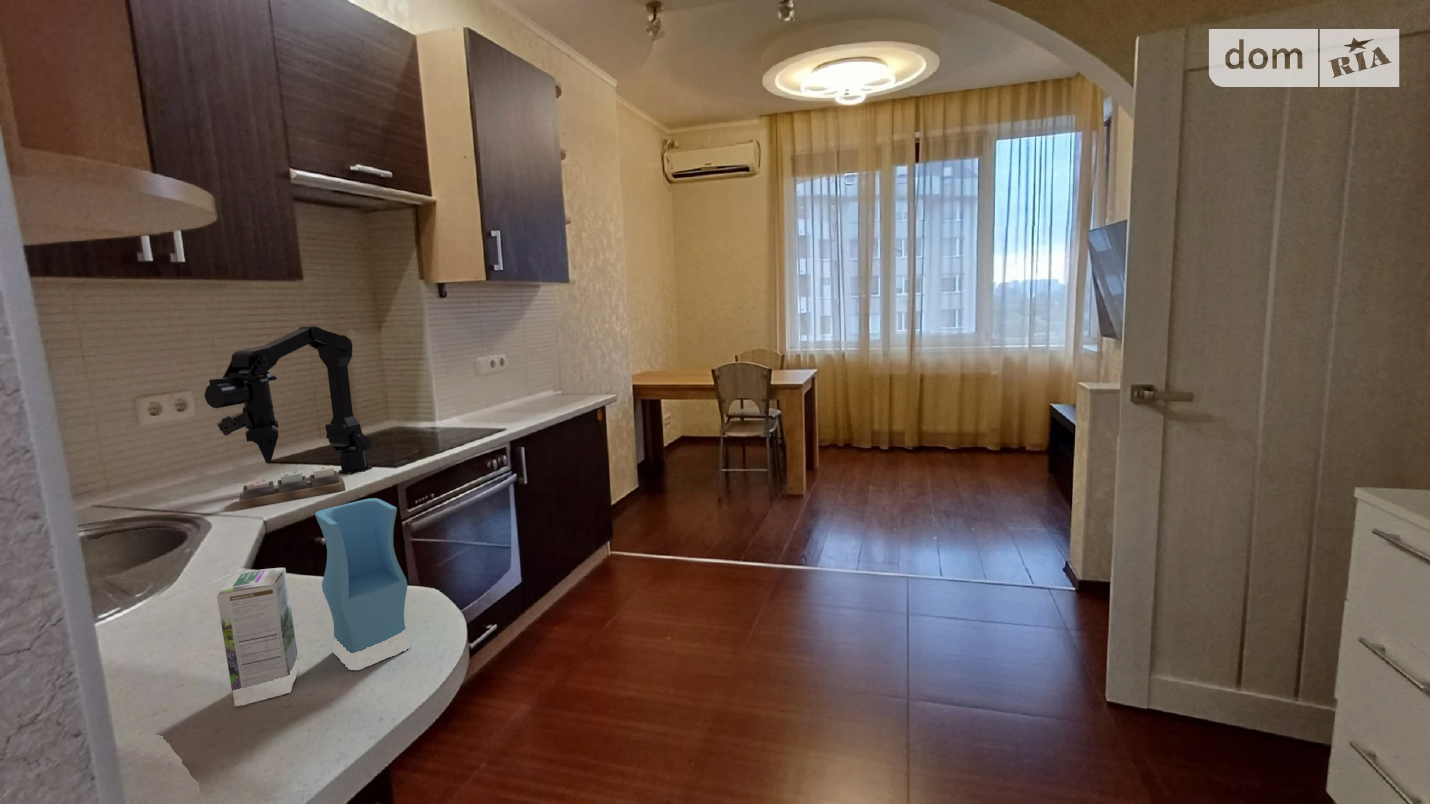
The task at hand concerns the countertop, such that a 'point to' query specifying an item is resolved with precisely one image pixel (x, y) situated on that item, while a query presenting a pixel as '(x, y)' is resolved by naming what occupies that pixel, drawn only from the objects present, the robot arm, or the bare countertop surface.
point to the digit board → (290, 491)
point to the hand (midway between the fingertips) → (268, 461)
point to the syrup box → (257, 627)
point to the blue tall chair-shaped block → (362, 573)
